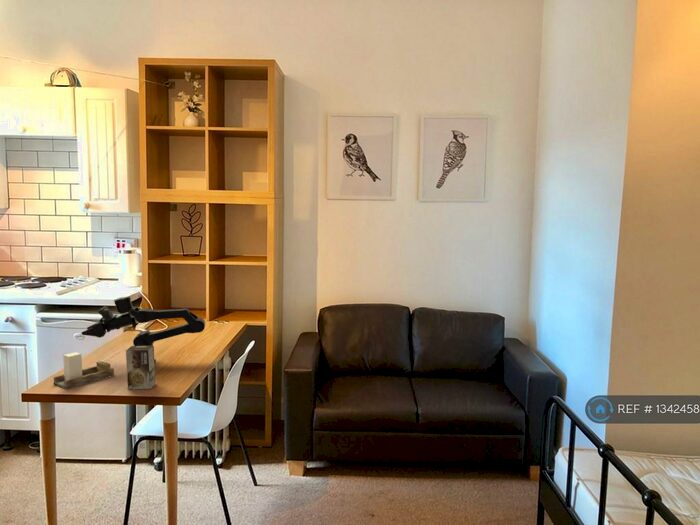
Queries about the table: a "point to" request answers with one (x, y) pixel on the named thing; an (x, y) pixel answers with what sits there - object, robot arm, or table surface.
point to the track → (86, 375)
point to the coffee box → (140, 367)
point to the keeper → (72, 366)
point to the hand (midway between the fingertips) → (84, 331)
